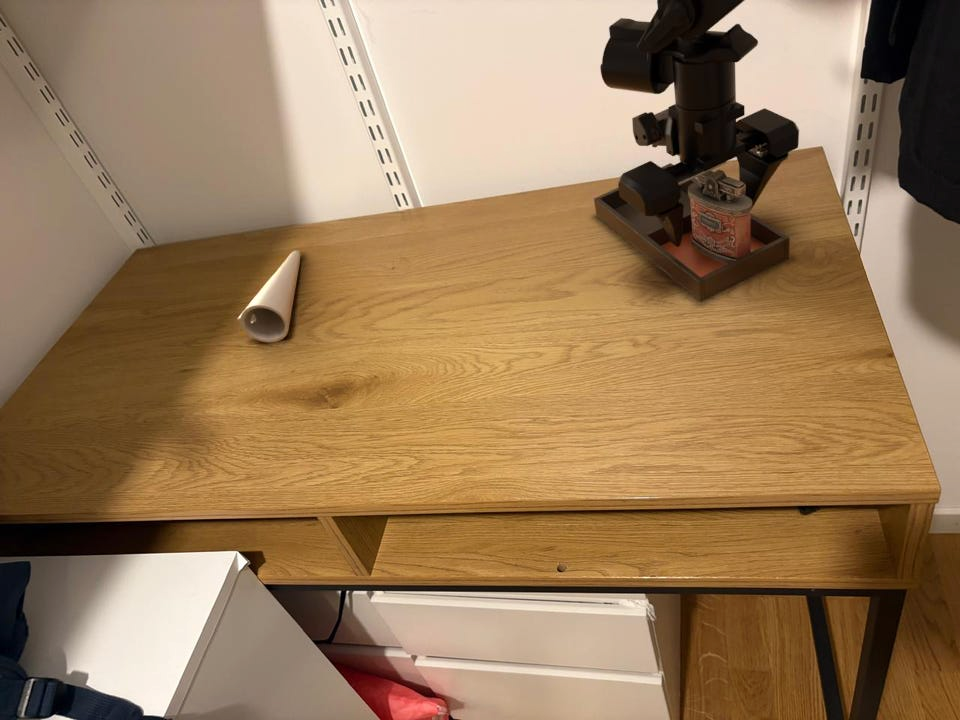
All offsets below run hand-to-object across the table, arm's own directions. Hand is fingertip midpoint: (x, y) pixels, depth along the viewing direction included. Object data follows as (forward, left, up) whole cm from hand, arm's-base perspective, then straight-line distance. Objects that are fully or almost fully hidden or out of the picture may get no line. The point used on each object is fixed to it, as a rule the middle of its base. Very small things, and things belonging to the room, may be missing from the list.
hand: (711, 228), depth 83 cm
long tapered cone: (+46, -30, -4) cm, 55 cm away
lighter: (-1, 0, -4) cm, 4 cm away
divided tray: (0, -5, -4) cm, 7 cm away
